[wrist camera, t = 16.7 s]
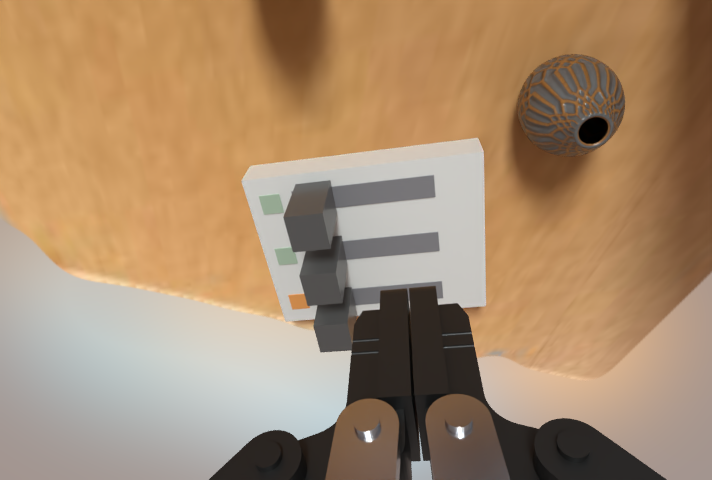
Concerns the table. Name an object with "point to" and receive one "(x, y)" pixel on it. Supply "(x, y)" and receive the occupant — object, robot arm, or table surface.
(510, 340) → the table surface
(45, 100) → the table surface
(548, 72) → the vase
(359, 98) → the table surface
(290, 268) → the breaker panel
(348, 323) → the block
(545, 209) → the table surface
